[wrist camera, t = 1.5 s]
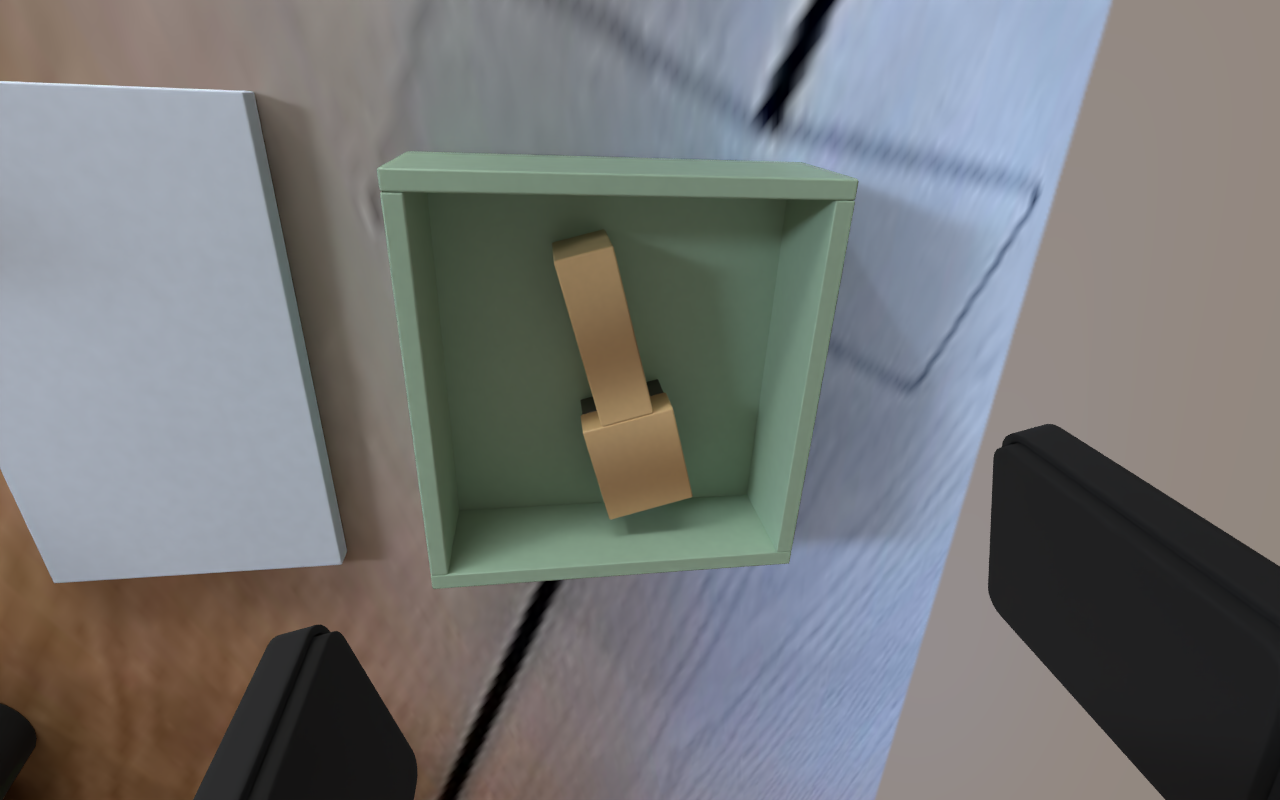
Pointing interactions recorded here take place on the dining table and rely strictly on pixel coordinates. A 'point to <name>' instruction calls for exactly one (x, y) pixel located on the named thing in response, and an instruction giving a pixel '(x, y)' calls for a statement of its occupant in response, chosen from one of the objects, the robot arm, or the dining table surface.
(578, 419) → the basket
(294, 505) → the mat
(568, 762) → the dining table surface
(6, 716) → the cup
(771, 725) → the dining table surface
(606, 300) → the brush
